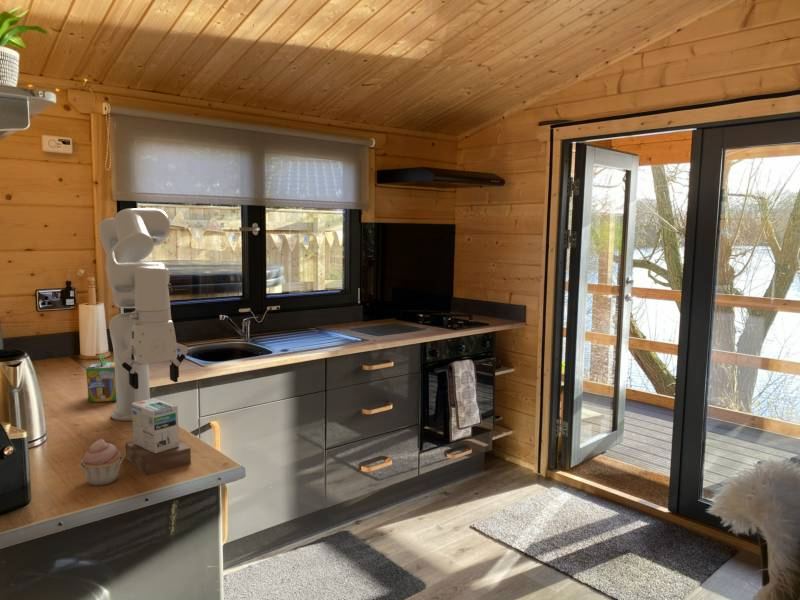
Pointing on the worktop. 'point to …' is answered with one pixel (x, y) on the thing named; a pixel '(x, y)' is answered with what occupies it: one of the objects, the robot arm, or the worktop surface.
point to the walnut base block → (157, 457)
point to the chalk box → (101, 381)
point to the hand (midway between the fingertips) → (154, 384)
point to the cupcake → (101, 463)
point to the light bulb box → (155, 425)
